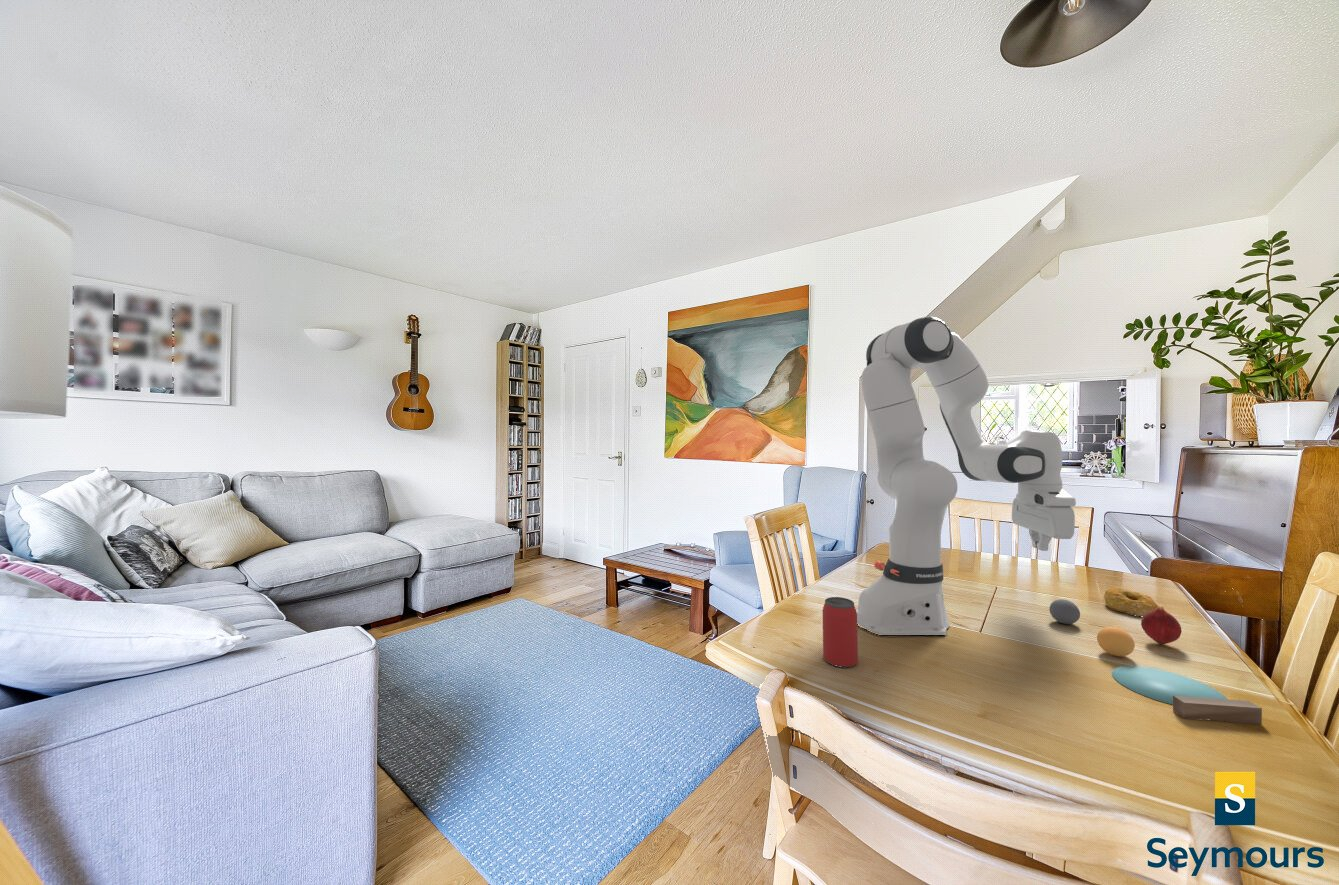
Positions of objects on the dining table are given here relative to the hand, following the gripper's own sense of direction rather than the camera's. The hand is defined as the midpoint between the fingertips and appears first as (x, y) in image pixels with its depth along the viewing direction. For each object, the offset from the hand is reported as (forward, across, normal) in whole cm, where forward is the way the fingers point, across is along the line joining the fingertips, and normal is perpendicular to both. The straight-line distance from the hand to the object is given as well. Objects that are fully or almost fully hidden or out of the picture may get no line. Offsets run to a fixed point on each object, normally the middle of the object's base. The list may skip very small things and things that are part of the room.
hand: (1040, 549), depth 119 cm
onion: (+15, +19, +12) cm, 27 cm away
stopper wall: (+15, +46, 0) cm, 49 cm away
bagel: (+16, -2, +21) cm, 26 cm away
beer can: (+15, +36, -54) cm, 67 cm away
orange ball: (+12, +25, 0) cm, 28 cm away
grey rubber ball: (+12, +9, 0) cm, 16 cm away
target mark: (+15, +37, 0) cm, 40 cm away
